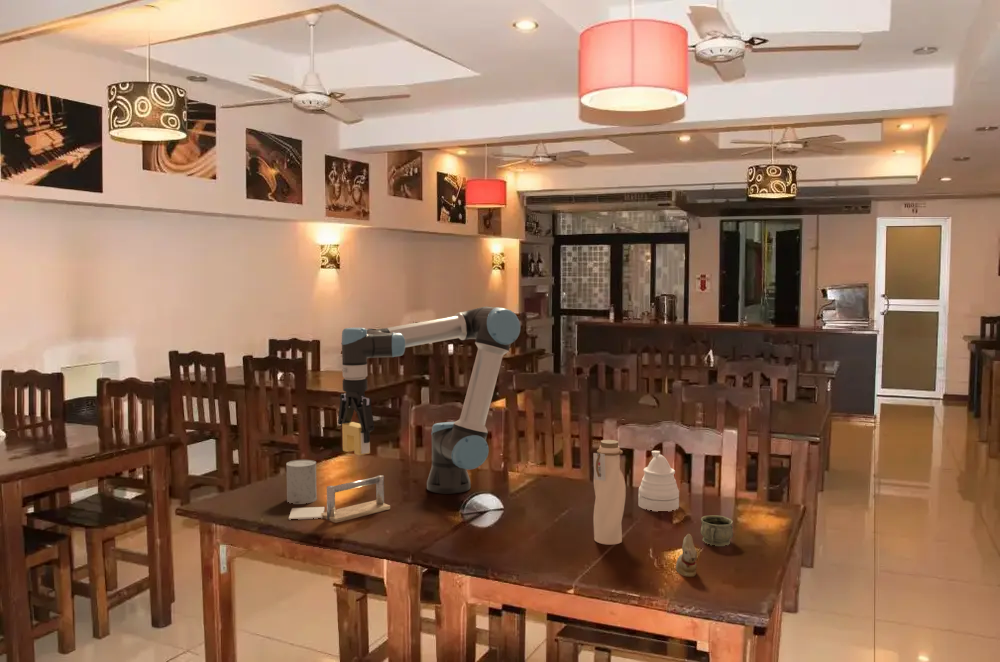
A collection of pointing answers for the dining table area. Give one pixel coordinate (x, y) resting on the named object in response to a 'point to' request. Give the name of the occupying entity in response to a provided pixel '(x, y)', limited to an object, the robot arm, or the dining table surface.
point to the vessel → (716, 530)
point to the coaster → (306, 513)
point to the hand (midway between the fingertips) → (356, 450)
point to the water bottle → (608, 493)
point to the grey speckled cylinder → (301, 481)
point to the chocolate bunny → (687, 558)
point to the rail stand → (357, 509)
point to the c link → (352, 437)
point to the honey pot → (658, 486)
